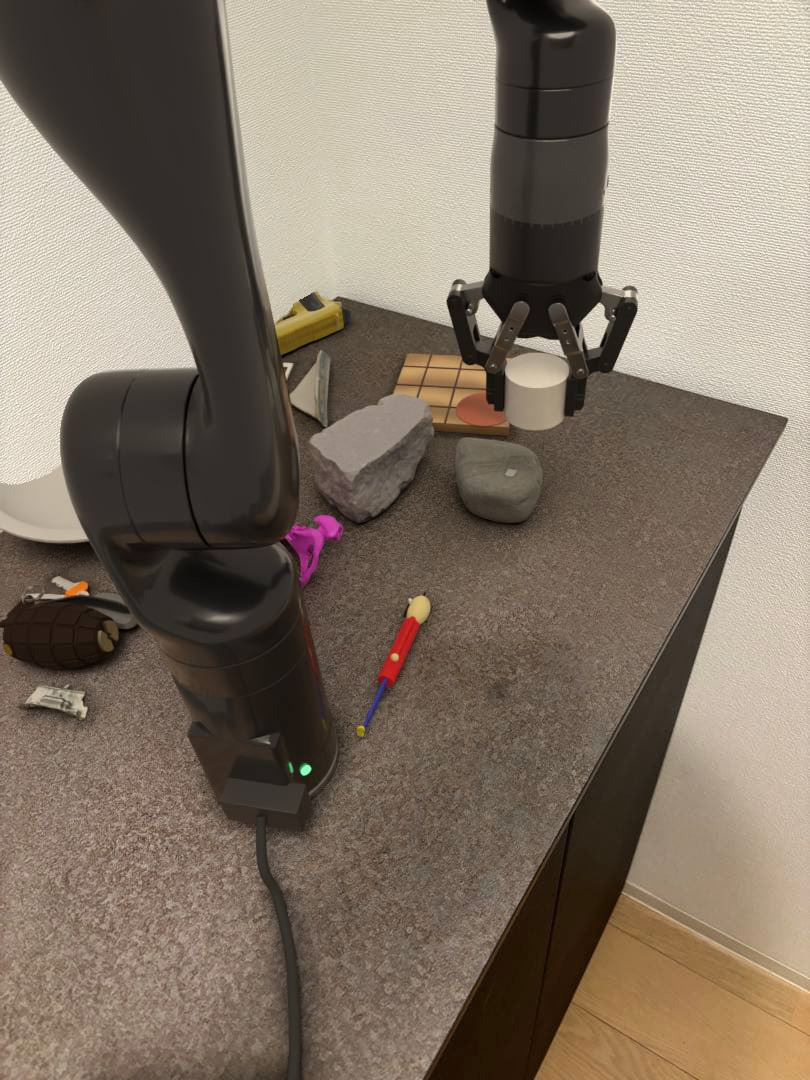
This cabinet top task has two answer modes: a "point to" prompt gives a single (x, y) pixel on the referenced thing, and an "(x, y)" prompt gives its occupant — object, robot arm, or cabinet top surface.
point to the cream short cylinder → (535, 391)
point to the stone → (497, 479)
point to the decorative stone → (371, 455)
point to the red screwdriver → (399, 650)
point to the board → (452, 393)
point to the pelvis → (313, 542)
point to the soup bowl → (40, 510)
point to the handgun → (309, 321)
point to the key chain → (80, 589)
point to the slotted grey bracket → (57, 700)
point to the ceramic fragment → (314, 390)
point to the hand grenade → (60, 630)
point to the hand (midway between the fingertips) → (535, 407)
